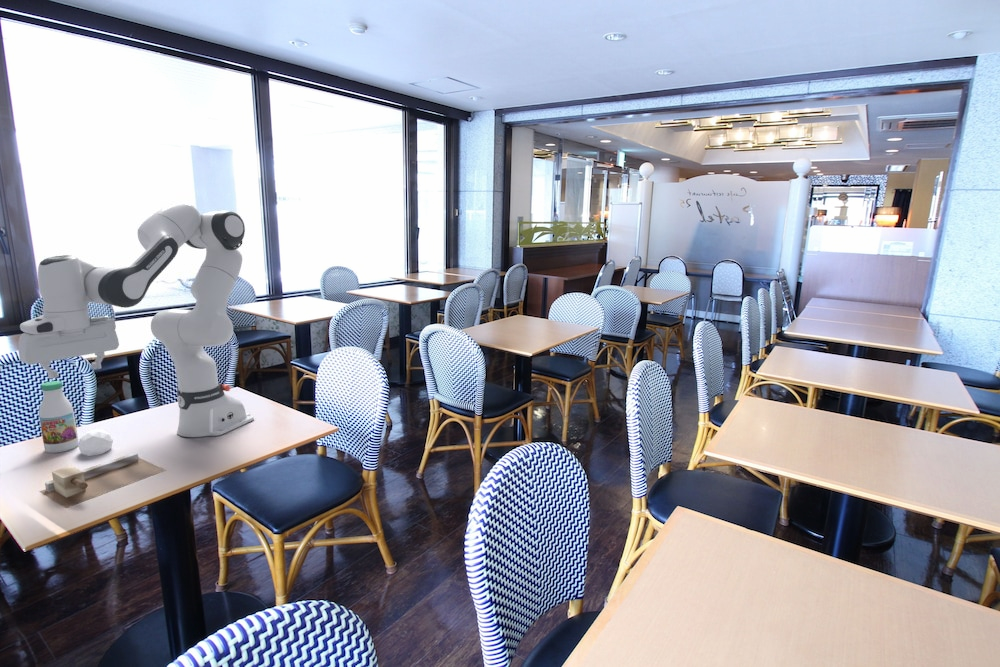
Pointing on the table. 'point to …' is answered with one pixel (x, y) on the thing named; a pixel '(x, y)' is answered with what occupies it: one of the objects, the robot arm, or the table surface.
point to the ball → (95, 442)
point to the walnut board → (106, 478)
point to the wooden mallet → (69, 481)
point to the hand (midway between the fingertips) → (75, 373)
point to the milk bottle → (57, 419)
